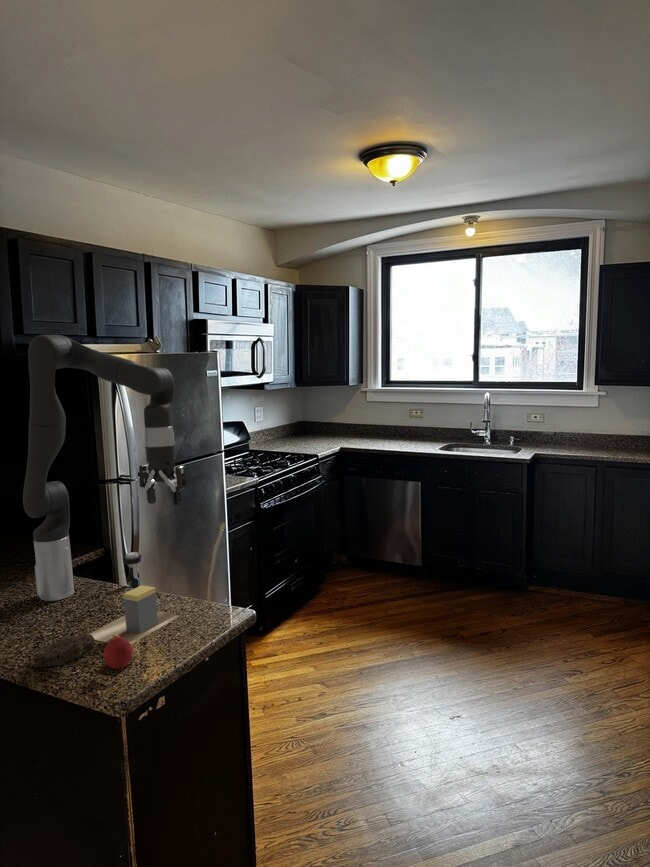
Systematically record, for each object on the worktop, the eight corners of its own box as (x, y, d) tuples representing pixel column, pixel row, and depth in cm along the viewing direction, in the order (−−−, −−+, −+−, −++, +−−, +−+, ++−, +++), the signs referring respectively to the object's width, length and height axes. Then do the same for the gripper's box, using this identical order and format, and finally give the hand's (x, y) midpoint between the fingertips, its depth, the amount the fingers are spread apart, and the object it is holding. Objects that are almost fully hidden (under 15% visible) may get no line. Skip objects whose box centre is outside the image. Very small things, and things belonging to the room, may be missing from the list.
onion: (126, 661, 129) (123, 625, 128) (139, 669, 124) (135, 633, 124) (100, 671, 125) (97, 635, 124) (112, 680, 120) (109, 643, 120)
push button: (120, 585, 177) (118, 553, 176) (138, 580, 181) (135, 549, 180) (129, 591, 172) (126, 557, 171) (146, 586, 175) (143, 553, 174)
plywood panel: (83, 641, 139) (83, 636, 139) (139, 612, 155) (138, 607, 155) (127, 651, 133) (126, 645, 133) (180, 620, 149) (180, 615, 149)
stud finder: (126, 630, 141) (122, 593, 140) (144, 620, 146) (141, 585, 146) (140, 633, 139) (136, 596, 138) (158, 623, 144) (155, 587, 143)
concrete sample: (101, 649, 135) (99, 628, 135) (77, 671, 125) (75, 648, 125) (55, 648, 137) (53, 627, 136) (27, 670, 127) (25, 647, 126)
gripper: (129, 445, 155) (134, 505, 156) (171, 446, 148) (175, 509, 150) (149, 441, 161) (154, 499, 163) (190, 442, 155) (194, 502, 157)
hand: (164, 504), depth 157 cm, fingers open, 8 cm apart
